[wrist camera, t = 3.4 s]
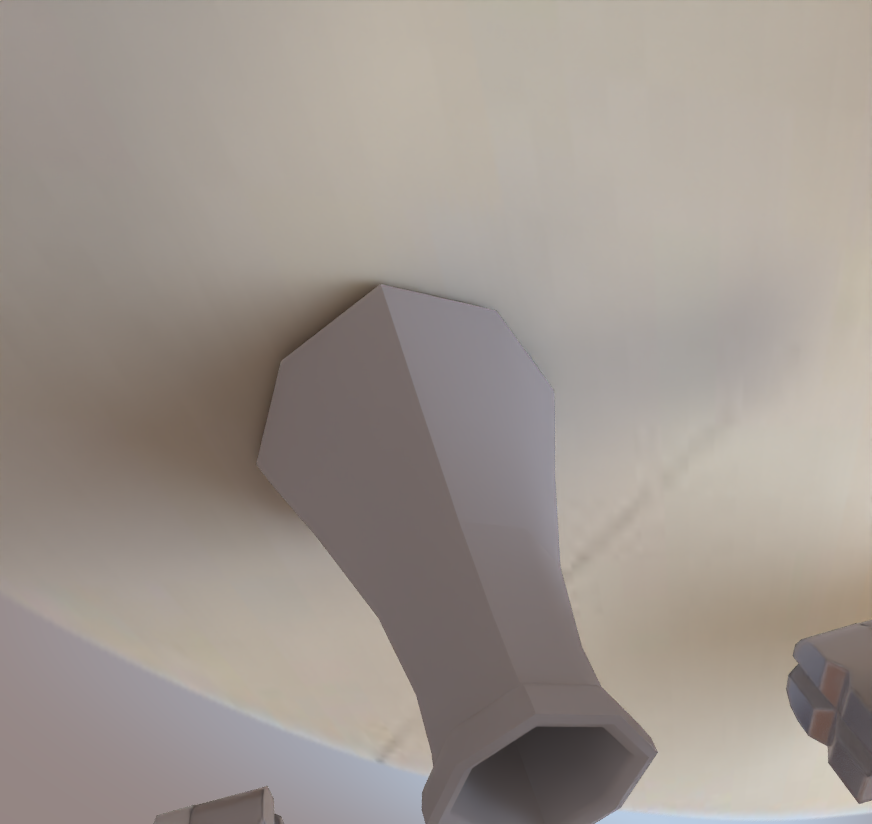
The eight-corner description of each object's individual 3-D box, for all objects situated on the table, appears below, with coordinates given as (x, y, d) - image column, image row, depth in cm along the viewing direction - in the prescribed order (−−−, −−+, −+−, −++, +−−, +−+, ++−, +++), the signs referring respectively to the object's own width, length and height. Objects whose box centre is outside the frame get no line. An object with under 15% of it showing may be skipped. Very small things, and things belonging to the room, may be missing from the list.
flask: (435, 565, 21) (562, 950, 13) (204, 470, 18) (172, 908, 9) (596, 373, 19) (876, 684, 11) (367, 224, 16) (513, 508, 7)
